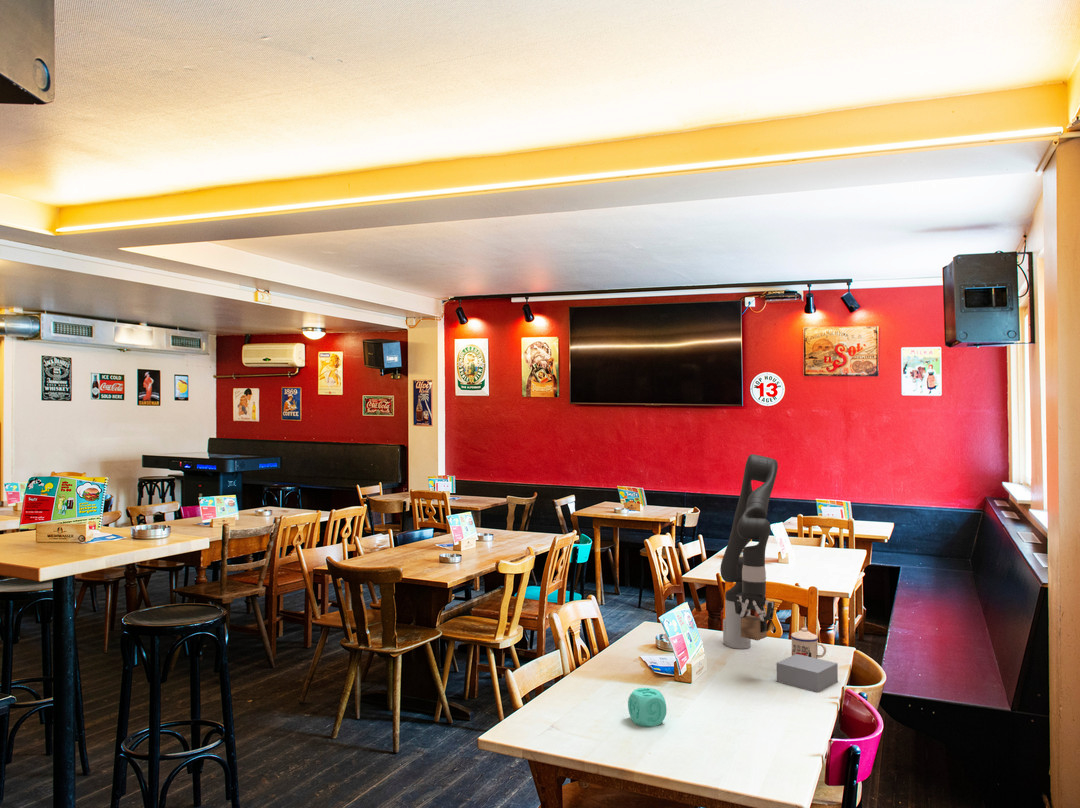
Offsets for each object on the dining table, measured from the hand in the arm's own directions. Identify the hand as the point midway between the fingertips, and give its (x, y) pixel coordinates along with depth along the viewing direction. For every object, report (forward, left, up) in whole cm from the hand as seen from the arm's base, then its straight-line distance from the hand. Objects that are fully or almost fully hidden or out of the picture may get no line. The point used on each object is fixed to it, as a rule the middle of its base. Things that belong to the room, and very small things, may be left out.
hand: (753, 630), depth 243 cm
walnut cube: (0, 0, -2) cm, 2 cm away
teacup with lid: (+4, +30, -16) cm, 34 cm away
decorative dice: (-3, -54, -16) cm, 56 cm away
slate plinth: (+13, +10, -16) cm, 23 cm away
